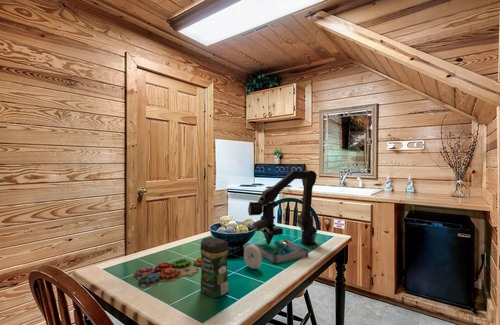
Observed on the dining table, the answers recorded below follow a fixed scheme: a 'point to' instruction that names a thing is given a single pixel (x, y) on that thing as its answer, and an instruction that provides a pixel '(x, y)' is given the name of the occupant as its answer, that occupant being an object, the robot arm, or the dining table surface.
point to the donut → (256, 253)
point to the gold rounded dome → (284, 241)
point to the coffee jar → (214, 267)
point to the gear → (281, 248)
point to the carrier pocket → (298, 253)
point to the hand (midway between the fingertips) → (268, 244)
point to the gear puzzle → (166, 272)
